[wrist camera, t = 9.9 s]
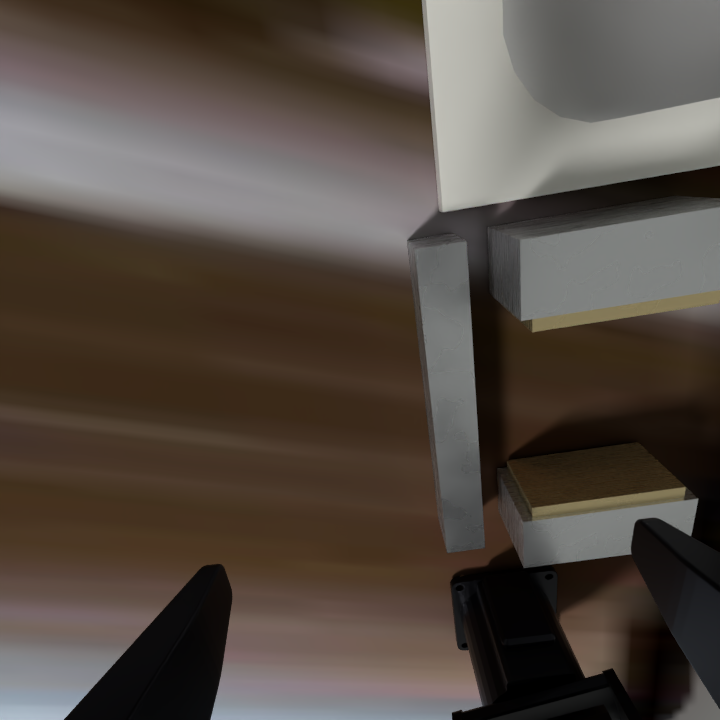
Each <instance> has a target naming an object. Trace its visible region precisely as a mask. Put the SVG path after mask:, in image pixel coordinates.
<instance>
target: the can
mask: <svg viewBox="0 0 720 720" xmlns="http://www.w3.org/2000/svg"><path fill="white" fill-rule="evenodd" d="M503 36H504V39H505V43H506V46H507V49H508V53H509V56H510V59H511V63H512V66H513V69H514V72H515V74H516V75H517V76H518V78H519V79H520V81H521V82H522V83H523V85H524V86H525V88H526V89H527V90H528V92H529V93H530V95H531V96H532V97H533V99H534V100H535V101H537V102H538V103H540V104H541V105H543V106H544V107H546V108H548V109H549V110H551V111H552V112H554V113H555V114H557V115H558V116H560V117H564V118H569V119H574V120H579V121H584V122H589V123H593V122H599V121H604V120H610V119H616V118H622V117H627V116H632V115H637V114H642V113H647V112H651V111H656V110H661V109H666V108H671V107H676V106H681V105H685V104H690V103H695V102H700V101H705V100H710V99H715V98H719V97H720V0H503Z"/></svg>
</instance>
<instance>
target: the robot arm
mask: <svg viewBox="0 0 720 720" xmlns="http://www.w3.org/2000/svg"><path fill="white" fill-rule="evenodd" d="M631 554H632V557H633V559H634V561H635V563H636V565H637V567H638V569H639V571H640V573H641V575H642V577H643V579H644V581H645V583H646V585H647V587H648V589H649V591H650V593H651V594H652V596H653V598H654V600H655V602H656V604H657V606H658V608H659V610H660V612H661V614H662V616H663V618H664V620H665V622H666V624H667V625H668V627H669V629H670V631H671V633H672V634H673V636H674V638H675V639H676V641H677V643H678V644H679V646H680V647H681V649H682V651H683V652H684V654H685V655H686V657H687V658H688V660H689V662H690V663H691V665H692V666H693V668H694V669H695V671H696V673H697V674H698V676H699V677H700V679H701V681H702V682H703V684H704V685H705V687H706V688H707V690H708V691H709V693H710V695H711V696H712V698H713V699H714V701H715V703H716V704H717V705H718V707H719V709H720V553H719V552H718V551H716V550H714V549H712V548H711V547H709V546H707V545H705V544H704V543H702V542H700V541H698V540H696V539H695V538H693V537H691V536H689V535H688V534H686V533H684V532H682V531H681V530H679V529H677V528H675V527H673V526H672V525H670V524H668V523H666V522H665V521H663V520H661V519H659V518H645V519H638V520H637V521H636V522H635V524H634V530H633V536H632V542H631ZM450 586H451V595H452V605H453V614H454V623H455V633H456V641H457V646H458V648H459V649H460V650H469V653H470V657H471V661H472V665H473V669H474V673H475V677H476V681H477V685H478V690H479V694H480V698H481V702H482V707H479V708H475V709H471V710H468V711H464V712H463V711H462V710H460V711H456V712H452V720H642V718H641V717H640V715H639V713H638V711H637V710H636V708H635V706H634V705H633V703H632V701H631V699H630V698H629V696H628V694H627V692H626V691H625V689H624V687H623V686H622V684H621V682H620V680H619V679H618V677H617V675H616V673H615V672H614V670H613V669H608V670H605V671H602V672H603V673H602V674H599V675H595V676H591V677H588V678H585V676H584V674H583V672H582V670H581V668H580V666H579V663H578V661H577V659H576V657H575V655H574V653H573V651H572V648H571V646H570V644H569V642H568V640H567V638H566V635H565V633H564V631H563V629H562V627H561V625H560V623H559V620H558V618H557V616H556V603H557V573H556V571H555V569H554V568H553V567H552V566H539V567H531V568H523V569H516V570H508V571H500V572H492V573H485V574H477V575H469V576H462V577H456V578H454V579H452V580H451V582H450ZM231 605H232V589H231V586H230V583H229V580H228V577H227V574H226V571H225V569H224V567H223V565H221V564H214V565H206V566H203V567H202V568H201V569H200V570H199V571H198V572H197V573H196V574H195V575H194V576H193V577H192V578H191V580H190V581H189V582H188V583H187V584H186V585H185V586H184V587H183V588H182V590H181V591H180V592H179V593H178V594H177V595H176V596H175V597H174V598H173V600H172V601H171V602H170V603H169V604H168V605H167V606H166V607H165V608H164V609H163V611H162V612H161V613H160V614H159V615H158V616H157V617H156V618H155V619H154V621H153V622H152V623H151V624H150V625H149V626H148V627H147V628H146V629H145V631H144V632H143V633H142V634H141V635H140V636H139V637H138V638H137V639H136V640H135V642H134V643H133V644H132V645H131V646H130V647H129V648H128V649H127V650H126V652H125V653H124V654H123V655H122V656H121V657H120V658H119V659H118V660H117V662H116V663H115V664H114V665H113V666H112V667H111V668H110V669H109V670H108V671H107V673H106V674H105V675H104V676H103V677H102V678H101V679H100V680H99V681H98V683H97V684H96V685H95V686H94V687H93V688H92V689H91V690H90V691H89V693H88V694H87V695H86V696H85V697H84V698H83V699H82V700H81V701H80V702H79V704H78V705H77V706H76V707H75V708H74V709H73V710H72V711H71V712H70V714H69V715H68V716H67V717H66V718H65V719H64V720H210V719H211V715H212V711H213V707H214V703H215V699H216V695H217V691H218V686H219V682H220V677H221V671H222V665H223V659H224V652H225V645H226V639H227V632H228V625H229V618H230V611H231Z"/></svg>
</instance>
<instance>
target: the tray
mask: <svg viewBox="0 0 720 720" xmlns="http://www.w3.org/2000/svg"><path fill="white" fill-rule="evenodd" d="M422 9H423V21H424V33H425V45H426V58H427V70H428V82H429V94H430V106H431V118H432V131H433V143H434V155H435V167H436V179H437V191H438V204H439V211H441V212H448V211H454V210H460V209H466V208H472V207H478V206H484V205H489V204H495V203H501V202H507V201H513V200H519V199H525V198H531V197H537V196H543V195H549V194H555V193H560V192H566V191H572V190H578V189H584V188H590V187H596V186H602V185H608V184H614V183H620V182H626V181H632V180H637V179H643V178H649V177H655V176H661V175H667V174H673V173H679V172H685V171H691V170H697V169H703V168H708V167H714V166H720V97H719V98H715V99H710V100H705V101H700V102H695V103H690V104H685V105H681V106H676V107H671V108H666V109H661V110H656V111H651V112H647V113H642V114H637V115H632V116H627V117H622V118H616V119H610V120H604V121H599V122H593V123H589V122H584V121H579V120H574V119H569V118H564V117H560V116H558V115H557V114H555V113H554V112H552V111H551V110H549V109H548V108H546V107H544V106H543V105H541V104H540V103H538V102H537V101H535V100H534V99H533V97H532V96H531V95H530V93H529V92H528V90H527V89H526V88H525V86H524V85H523V83H522V82H521V81H520V79H519V78H518V76H517V75H516V74H515V72H514V69H513V66H512V63H511V59H510V56H509V53H508V49H507V46H506V43H505V39H504V36H503V0H422Z"/></svg>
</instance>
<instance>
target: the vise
mask: <svg viewBox="0 0 720 720" xmlns="http://www.w3.org/2000/svg"><path fill="white" fill-rule="evenodd" d="M487 240H488V265H489V289H490V295H492V296H493V297H494V298H495V299H496V300H497V301H498V302H500V303H501V304H502V306H503V307H504V308H505V309H507V310H508V311H509V312H510V313H511V314H512V315H513V316H515V317H516V318H517V319H518V320H519V321H520V322H521V323H523V324H524V325H525V326H526V327H527V328H528V329H530V330H531V331H532V332H536V331H542V330H549V329H555V328H562V327H568V326H575V325H581V324H588V323H594V322H601V321H607V320H614V319H620V318H627V317H633V316H639V315H646V314H652V313H659V312H665V311H672V310H678V309H685V308H691V307H698V306H704V305H711V304H717V303H719V300H720V199H717V198H702V197H686V196H671V197H665V198H659V199H653V200H647V201H641V202H635V203H629V204H623V205H617V206H611V207H605V208H599V209H593V210H587V211H581V212H575V213H569V214H563V215H557V216H551V217H545V218H539V219H533V220H527V221H521V222H515V223H509V224H503V225H497V226H491V227H487ZM407 245H408V254H409V263H410V272H411V281H412V289H413V298H414V307H415V316H416V325H417V334H418V342H419V351H420V360H421V369H422V378H423V386H424V395H425V404H426V413H427V422H428V430H429V439H430V448H431V457H432V466H433V475H434V483H435V492H436V501H437V510H438V518H439V522H440V526H441V530H442V534H443V538H444V542H445V546H446V550H447V553H450V552H458V551H465V550H473V549H481V548H485V541H484V524H483V507H482V491H481V474H480V457H479V440H478V423H477V407H476V390H475V373H474V356H473V339H472V323H471V306H470V289H469V272H468V256H467V241H466V240H464V239H462V238H461V237H459V236H457V235H455V234H454V233H449V234H443V235H437V236H431V237H425V238H419V239H413V240H407ZM497 486H498V510H499V513H500V515H501V517H502V519H503V522H504V524H505V526H506V528H507V531H508V533H509V535H510V538H511V540H512V542H513V544H514V547H515V549H516V551H517V554H518V556H519V558H520V560H521V563H522V565H523V567H524V568H528V567H536V566H544V565H552V564H559V563H567V562H575V561H583V560H590V559H598V558H606V557H613V556H621V555H629V554H631V542H632V536H633V530H634V524H635V522H636V521H637V520H638V519H645V518H659V519H661V520H663V521H665V522H666V523H668V524H670V525H672V526H673V527H675V528H677V529H679V530H681V531H682V532H684V533H686V534H688V535H689V536H691V534H692V529H693V524H694V519H695V514H696V509H697V504H698V498H697V497H696V496H695V495H694V494H693V493H692V492H691V491H690V490H689V489H687V488H686V487H685V486H684V485H683V484H682V483H681V482H680V481H679V480H678V479H677V478H676V477H675V476H674V475H673V474H672V473H670V472H669V471H668V470H667V469H666V468H665V467H664V466H663V465H662V464H661V463H660V462H659V461H658V460H657V459H655V458H654V457H653V456H652V455H651V454H650V453H649V452H648V451H647V450H646V449H645V448H644V447H643V446H642V445H640V444H639V443H638V442H635V443H628V444H621V445H614V446H607V447H600V448H593V449H586V450H579V451H572V452H564V453H557V454H550V455H543V456H536V457H529V458H522V459H515V460H508V461H507V467H504V468H497Z"/></svg>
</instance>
